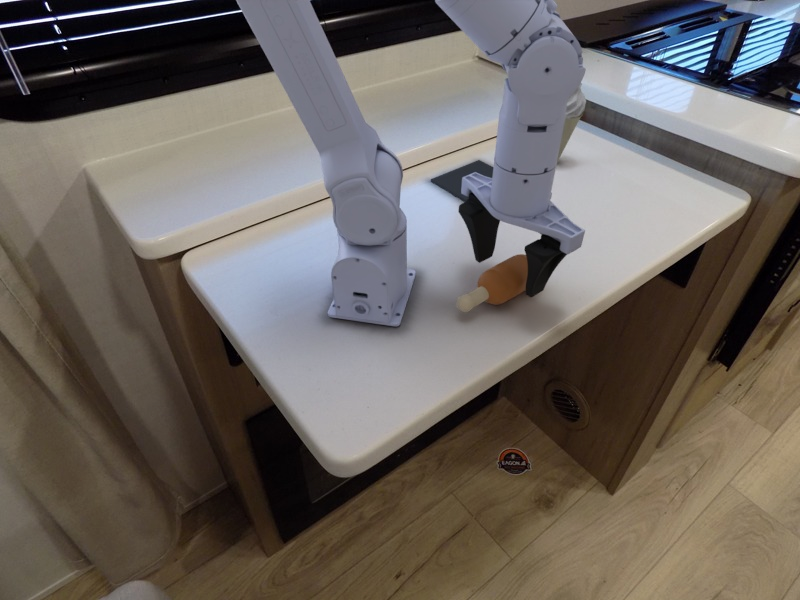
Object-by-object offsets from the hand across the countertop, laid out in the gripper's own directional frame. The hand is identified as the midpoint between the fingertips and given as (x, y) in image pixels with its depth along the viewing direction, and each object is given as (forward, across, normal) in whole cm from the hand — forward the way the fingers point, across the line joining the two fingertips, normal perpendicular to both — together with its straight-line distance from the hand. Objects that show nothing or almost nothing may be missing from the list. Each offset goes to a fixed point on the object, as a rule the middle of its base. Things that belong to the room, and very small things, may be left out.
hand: (508, 274), depth 58 cm
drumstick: (+2, 0, +1) cm, 3 cm away
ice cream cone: (+3, +17, -29) cm, 34 cm away
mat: (+2, +21, -15) cm, 26 cm away
